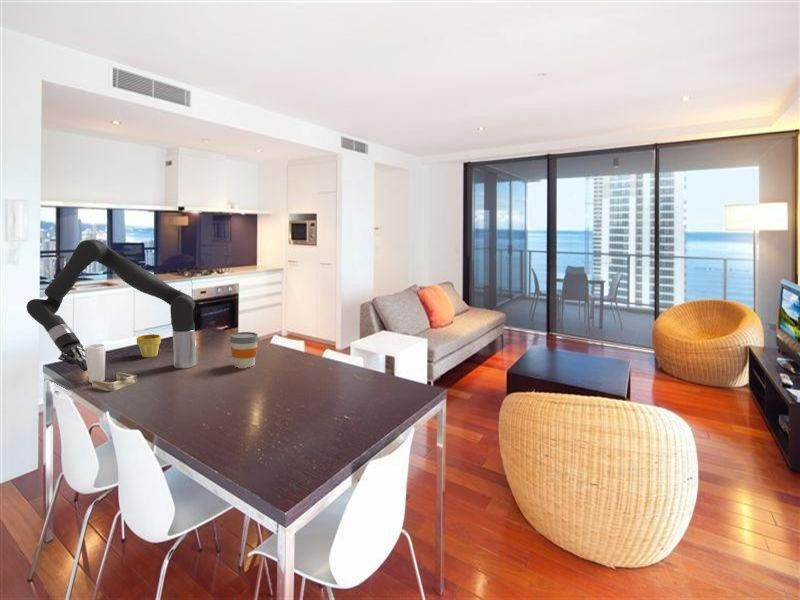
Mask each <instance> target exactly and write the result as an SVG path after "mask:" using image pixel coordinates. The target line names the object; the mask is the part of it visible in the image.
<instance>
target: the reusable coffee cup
mask: <svg viewBox="0 0 800 600" xmlns="http://www.w3.org/2000/svg"><path fill="white" fill-rule="evenodd" d="M229 341H230V345H231V346H230V351H231V357H232V358H233V363H234V368H236V367H238V368H237V369H248V368H247V367H250V368H252V367H251V366H253V365H254V366H255V363H256V356H257V355H258V354H257V353H258V347H259V345H258V341H259V335H258V333H256V332H252V331H241V332H234V333H231V334H230V339H229ZM254 366H253V367H254Z"/></svg>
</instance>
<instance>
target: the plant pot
mask: <svg viewBox="0 0 800 600" xmlns="http://www.w3.org/2000/svg"><path fill="white" fill-rule="evenodd" d="M161 343H162V337H161V334H155V333H152V334H151V333H150V334H143V335H138V336H137V337H136V344H137V345H138V348H139V350H140V353H141V354H140V355H141V356H142V357H143V358H153V357H157V356H158V353H159V348H160V344H161Z"/></svg>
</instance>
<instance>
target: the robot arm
mask: <svg viewBox="0 0 800 600" xmlns="http://www.w3.org/2000/svg"><path fill="white" fill-rule="evenodd" d="M94 262H96V263H98V264H101V265H102V266H104V267H107V268H108V269H110V270H111V271H113V272H114V273H115V274H116V275H117V277H119V278H120V279H121V280H122V281H123V282H124V283H126V284H127V285H129V286H130V287H131V288H134V289H135V290H137V291H139V292H141V293H143V294H145V295H149V296H152V297H155V298H157V299H160V300H162V301H163V302H165V303H166V304H168V305H170V308H169V309H170V323H171V327H172V347H173V348H172V353H173V367H174V368H176V369H189V368H193V367H195V366H196V365H197V364H198V345H197V343H196V330H195V329H196V325H195V321H194V309H195V307H196V303H195V300H194V298H193V297H192V296H191V295H189V294H187V293H185V292H182V291H180V290H178V289H177V288H175V287H173V286H171V285H169V284H168V283H166V282H165V281H163V280H162V279H160V278H159V277H158V276H156V275H155V274H153V273H152V272H150V271H148V270H146V269H145V268H144V267H142V266H140V265H138V264H137V263H135V262H133V261H131V260H129V259H128V258H125V257H124V256H122V255H120V254H119V253H117V252H116V251H115V250H113V249H112V248H111V247H109V246H108V245H107V244H105V243H104V242H102V241H101V240H99V239H94V238H93V239H91V238H90V239H85V240H82V241H80V242H79V243H78V244H77V246H76V247H75V249H74V251H73V253H72V255H71V256H70V258H69V260H68V261H67V262H66V264H65V265H64V267H63V268H62V269H61V271H59V273H58V274H57V275H56V276H55V278H53V280H52V281H51V282H50V283H49V285H48V286H46V287H45V290H44V295H45V296H46V297H47V298H46V299H40V298H33V299H31V300H28V302H27V304H26V312H27V313H28V314H29V316H30V317H31V318H33V319H34V320H35V321H36V323H39V324H40V325H41V326H42V327H43V328H44V330H45V331H46V332H47V334H48V335H49V337H50V340H52V342H53V344H54V345H55V347H57V349H58V350H59V352H60V355H59V356H58V358H57V359H58V360H60V361H62V362H64V363H67V364H69V365H72V366H74V365H77V366H78V367H79V368H80V370H81V371H83V372H88V370H87V364H86V358H85V347H86V346H84V344H81V341H80V339H79V338H78V337H77V335H76V334H75V332H74V331H73V330H72V328H71V327H70V326H69V325H68V324H67V323H66V322H65V320H64V318H62V317H61V316H60V315H58V314H56V313H57V312H58V311H59V309H60V307H61V305H62V303H63V299H64V298H65V297H66V296H67V294H68V293H69V292H71V290H72V289H73V287H74V285H75V284H76V283H77V280H78V279H79V277H80V275H81V274H82V273H83V271H85V269H86V268H87V267H89V266H90V265H91V264H92V263H94Z"/></svg>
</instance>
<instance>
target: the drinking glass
mask: <svg viewBox="0 0 800 600" xmlns="http://www.w3.org/2000/svg"><path fill="white" fill-rule="evenodd" d="M84 347H85V353H84V356H85V358H86V364H87V375H88V381H89V383H91V384H92V380H100V381H105V379H106V375H105V373H106V345H105V344H103V343H102V344H101V343H95V344H89V345H86V346H84Z"/></svg>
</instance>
